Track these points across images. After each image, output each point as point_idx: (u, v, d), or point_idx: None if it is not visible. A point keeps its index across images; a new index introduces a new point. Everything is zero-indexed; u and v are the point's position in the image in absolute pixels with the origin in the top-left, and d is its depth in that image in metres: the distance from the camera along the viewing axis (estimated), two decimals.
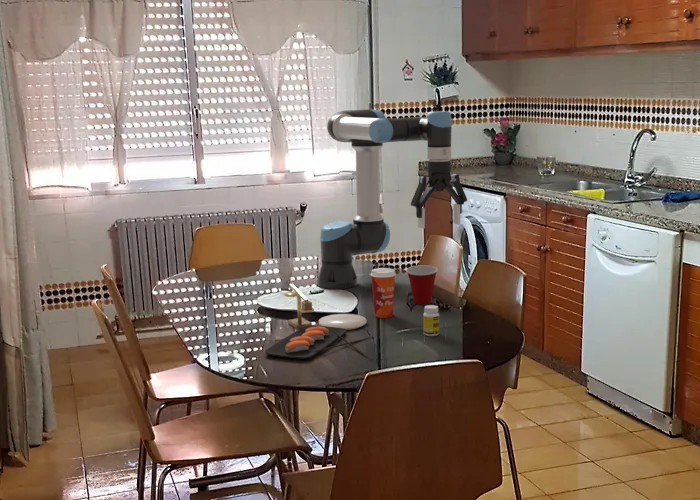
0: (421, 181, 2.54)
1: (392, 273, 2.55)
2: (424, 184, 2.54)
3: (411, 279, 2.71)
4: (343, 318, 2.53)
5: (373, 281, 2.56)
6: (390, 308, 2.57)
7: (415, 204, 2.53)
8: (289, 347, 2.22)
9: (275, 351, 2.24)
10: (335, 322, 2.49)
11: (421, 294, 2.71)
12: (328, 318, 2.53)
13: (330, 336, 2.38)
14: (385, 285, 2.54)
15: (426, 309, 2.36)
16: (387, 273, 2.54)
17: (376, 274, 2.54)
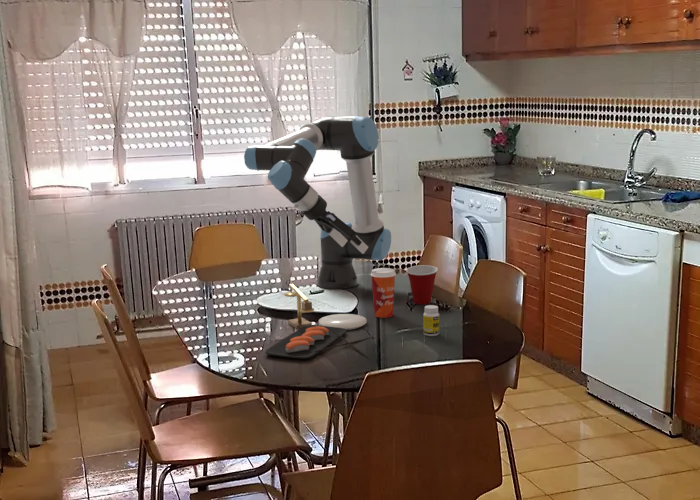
0: None
1: (392, 273, 2.55)
2: None
3: (411, 279, 2.71)
4: (343, 318, 2.53)
5: (373, 281, 2.56)
6: (390, 308, 2.57)
7: (322, 229, 2.55)
8: (289, 347, 2.22)
9: (275, 351, 2.24)
10: (335, 322, 2.49)
11: (421, 294, 2.71)
12: (328, 318, 2.53)
13: (330, 336, 2.38)
14: (385, 285, 2.54)
15: (426, 309, 2.36)
16: (387, 273, 2.54)
17: (376, 274, 2.54)
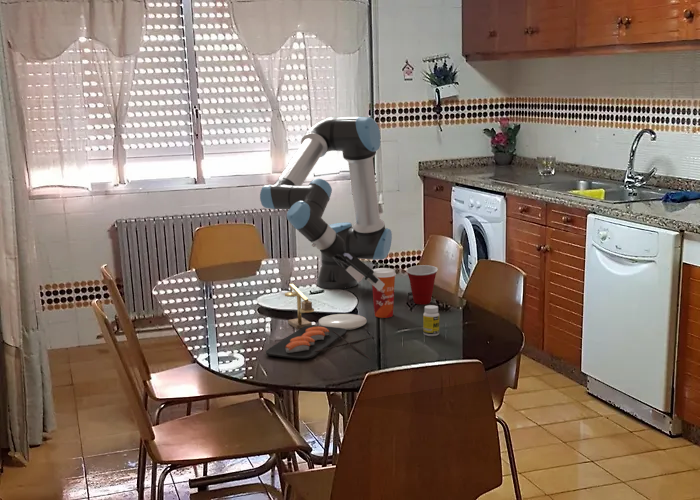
0: None
1: (392, 273, 2.55)
2: None
3: (411, 279, 2.71)
4: (343, 318, 2.53)
5: None
6: (390, 308, 2.57)
7: (339, 265, 2.60)
8: (289, 347, 2.22)
9: (275, 351, 2.24)
10: (335, 322, 2.49)
11: (421, 294, 2.71)
12: (328, 318, 2.53)
13: (330, 336, 2.38)
14: (385, 285, 2.54)
15: (426, 309, 2.36)
16: (387, 273, 2.54)
17: (376, 274, 2.54)
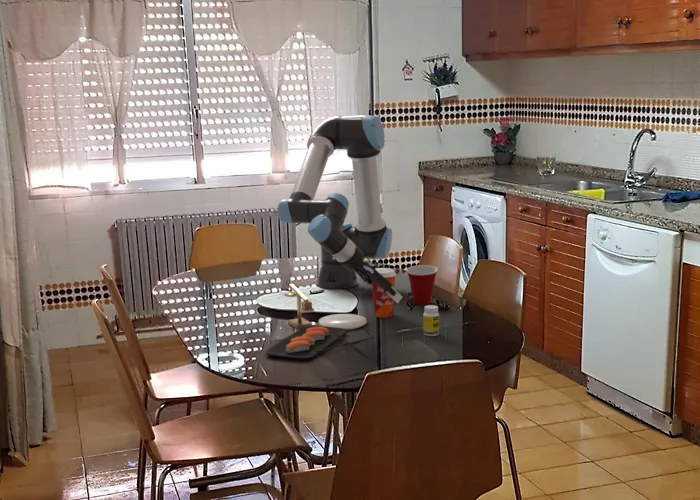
0: None
1: (392, 273, 2.55)
2: (353, 269, 2.59)
3: (411, 279, 2.71)
4: (343, 318, 2.53)
5: (373, 281, 2.56)
6: (390, 308, 2.57)
7: None
8: (290, 347, 2.22)
9: (276, 351, 2.24)
10: (335, 322, 2.49)
11: (421, 294, 2.71)
12: (328, 318, 2.53)
13: (330, 336, 2.37)
14: None
15: (426, 309, 2.36)
16: (387, 273, 2.54)
17: None
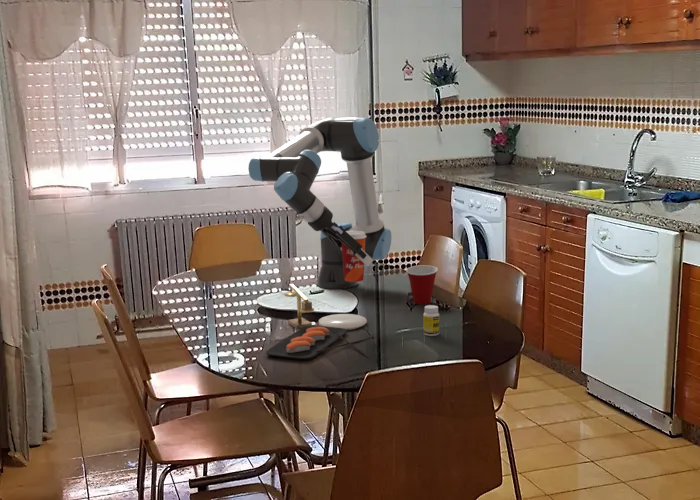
0: None
1: (362, 235, 2.46)
2: (321, 231, 2.49)
3: (411, 279, 2.71)
4: (343, 318, 2.53)
5: None
6: (361, 271, 2.48)
7: None
8: (290, 347, 2.22)
9: (276, 351, 2.24)
10: (335, 322, 2.49)
11: (421, 294, 2.71)
12: (328, 318, 2.53)
13: (331, 336, 2.37)
14: None
15: (426, 309, 2.36)
16: (357, 235, 2.44)
17: None
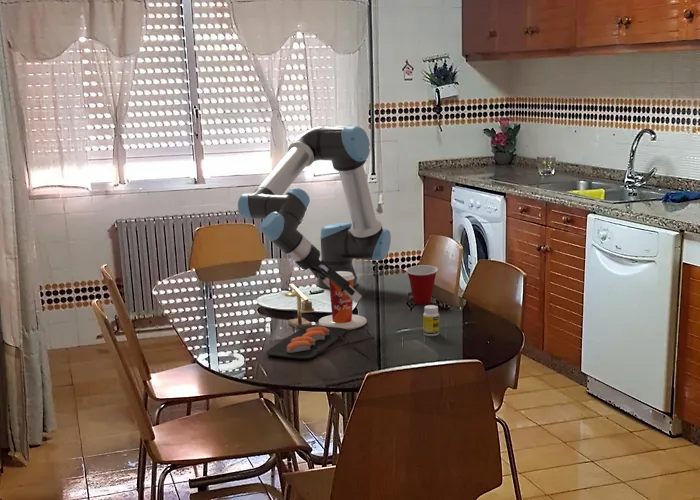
0: None
1: (350, 276, 2.46)
2: None
3: (411, 279, 2.71)
4: None
5: (331, 285, 2.47)
6: (349, 313, 2.48)
7: (316, 276, 2.55)
8: (290, 347, 2.22)
9: (276, 351, 2.24)
10: (335, 322, 2.49)
11: (421, 294, 2.71)
12: (328, 318, 2.53)
13: (331, 336, 2.37)
14: None
15: (426, 309, 2.36)
16: (345, 276, 2.45)
17: None
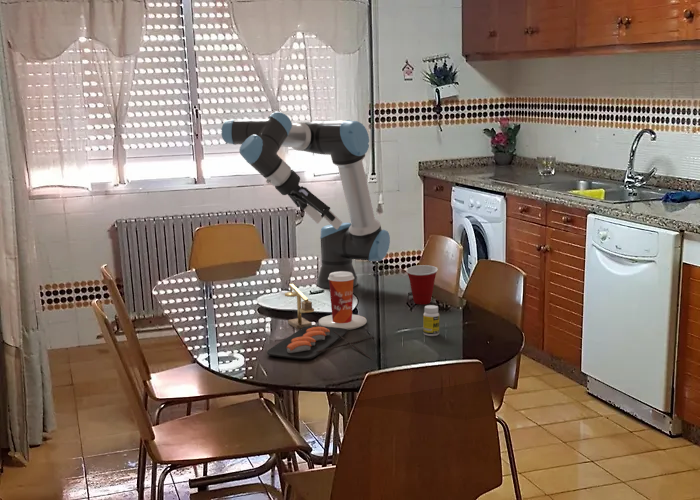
0: None
1: (350, 277, 2.46)
2: (288, 194, 2.47)
3: (411, 279, 2.71)
4: None
5: (330, 285, 2.47)
6: (349, 313, 2.48)
7: (297, 205, 2.52)
8: (291, 347, 2.22)
9: (277, 351, 2.24)
10: None
11: (421, 294, 2.71)
12: (328, 318, 2.53)
13: (331, 336, 2.37)
14: (342, 289, 2.45)
15: (426, 309, 2.36)
16: (345, 277, 2.45)
17: (333, 278, 2.45)
